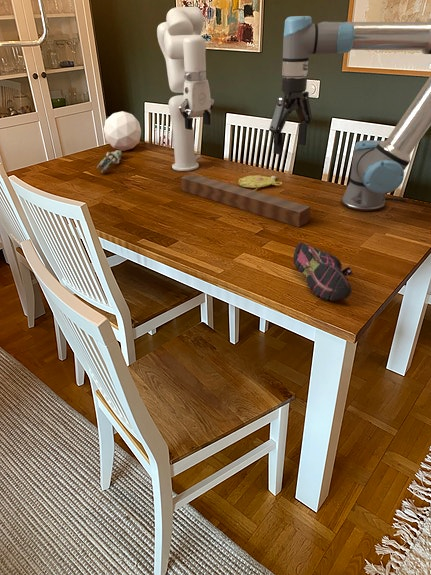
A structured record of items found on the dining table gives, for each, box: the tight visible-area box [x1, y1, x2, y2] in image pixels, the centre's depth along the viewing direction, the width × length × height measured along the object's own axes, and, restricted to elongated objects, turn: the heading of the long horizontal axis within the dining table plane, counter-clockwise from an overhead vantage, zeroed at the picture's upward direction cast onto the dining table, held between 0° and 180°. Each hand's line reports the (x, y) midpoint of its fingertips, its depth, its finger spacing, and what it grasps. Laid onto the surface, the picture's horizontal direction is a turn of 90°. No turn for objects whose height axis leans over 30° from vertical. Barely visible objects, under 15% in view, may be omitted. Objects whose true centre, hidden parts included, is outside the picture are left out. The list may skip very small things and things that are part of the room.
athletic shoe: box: [292, 242, 355, 301], centre depth 117 cm, size 11×22×12 cm
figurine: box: [96, 149, 123, 174], centre depth 213 cm, size 7×8×30 cm
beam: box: [180, 173, 311, 228], centre depth 167 cm, size 57×6×6 cm, turn 48°
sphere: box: [103, 110, 142, 152], centre depth 233 cm, size 19×20×20 cm
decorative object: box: [237, 174, 283, 191], centre depth 186 cm, size 21×2×20 cm
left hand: (197, 126), depth 166 cm, fingers open, 9 cm apart
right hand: (289, 149), depth 143 cm, fingers open, 13 cm apart
